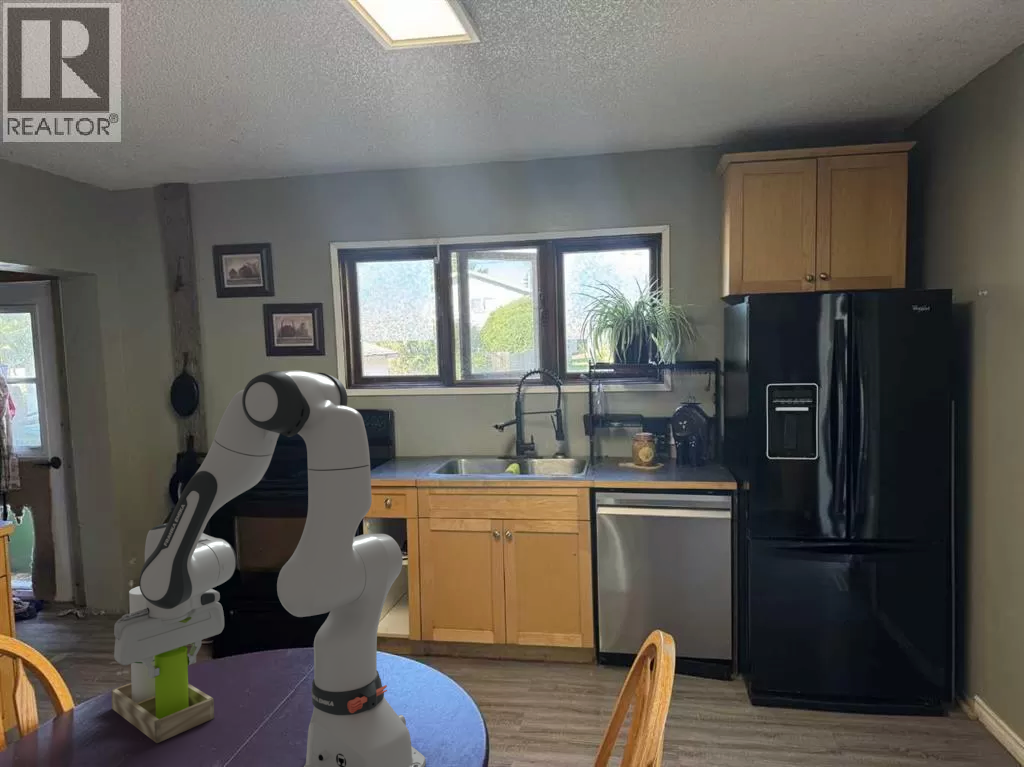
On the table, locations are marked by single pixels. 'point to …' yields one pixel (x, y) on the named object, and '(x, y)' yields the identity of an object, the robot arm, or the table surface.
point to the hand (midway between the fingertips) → (172, 669)
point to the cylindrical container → (139, 672)
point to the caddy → (167, 726)
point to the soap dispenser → (172, 681)
